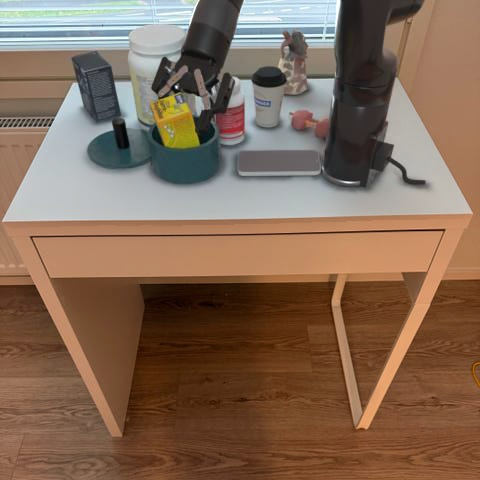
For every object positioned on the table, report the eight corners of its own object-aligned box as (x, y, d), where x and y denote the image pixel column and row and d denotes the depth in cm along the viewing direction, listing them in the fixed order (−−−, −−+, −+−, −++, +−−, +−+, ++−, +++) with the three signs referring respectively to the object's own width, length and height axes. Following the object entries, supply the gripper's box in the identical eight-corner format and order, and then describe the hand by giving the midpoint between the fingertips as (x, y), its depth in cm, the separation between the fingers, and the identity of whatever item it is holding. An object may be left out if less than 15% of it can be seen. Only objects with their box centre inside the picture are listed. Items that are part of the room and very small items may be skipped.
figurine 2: (296, 120, 104) (279, 127, 99) (299, 103, 101) (281, 110, 97) (347, 136, 99) (332, 145, 94) (351, 119, 97) (336, 127, 92)
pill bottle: (250, 140, 97) (251, 83, 88) (224, 149, 95) (222, 92, 86) (233, 127, 100) (232, 71, 92) (207, 136, 98) (204, 79, 90)
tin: (233, 157, 93) (232, 124, 88) (196, 191, 86) (193, 158, 81) (178, 140, 97) (174, 108, 92) (138, 171, 90) (132, 138, 85)
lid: (173, 144, 96) (170, 113, 91) (130, 178, 88) (124, 147, 84) (119, 127, 101) (113, 97, 96) (73, 158, 93) (64, 128, 88)
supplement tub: (155, 105, 107) (142, 18, 94) (207, 114, 104) (201, 25, 91) (127, 132, 99) (110, 41, 86) (182, 143, 96) (173, 51, 83)
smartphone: (238, 150, 93) (317, 149, 92) (238, 154, 93) (317, 154, 93) (237, 172, 88) (321, 171, 87) (237, 176, 89) (321, 176, 88)
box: (83, 108, 106) (70, 56, 98) (108, 101, 108) (97, 50, 100) (96, 123, 102) (83, 70, 93) (122, 116, 103) (111, 64, 95)
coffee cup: (271, 110, 104) (273, 60, 97) (291, 124, 100) (295, 73, 93) (244, 119, 102) (244, 69, 94) (263, 133, 98) (264, 82, 90)
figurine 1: (308, 94, 109) (314, 35, 100) (277, 95, 109) (280, 36, 100) (304, 80, 114) (309, 23, 105) (274, 81, 114) (276, 23, 105)
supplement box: (166, 155, 92) (148, 102, 82) (196, 144, 92) (181, 90, 83) (174, 174, 88) (156, 122, 79) (205, 163, 89) (191, 109, 79)
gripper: (164, 12, 81) (133, 109, 84) (239, 28, 77) (203, 130, 79) (185, 37, 88) (156, 125, 91) (255, 52, 84) (222, 145, 86)
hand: (178, 127), depth 85 cm, fingers closed on supplement box, 8 cm apart
